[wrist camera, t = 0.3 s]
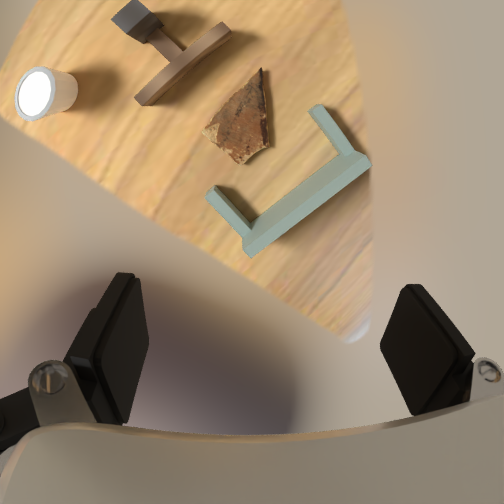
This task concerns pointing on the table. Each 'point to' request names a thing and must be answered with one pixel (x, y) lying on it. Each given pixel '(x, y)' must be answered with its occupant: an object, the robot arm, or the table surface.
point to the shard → (241, 122)
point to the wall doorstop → (166, 48)
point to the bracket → (296, 191)
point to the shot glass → (44, 93)
